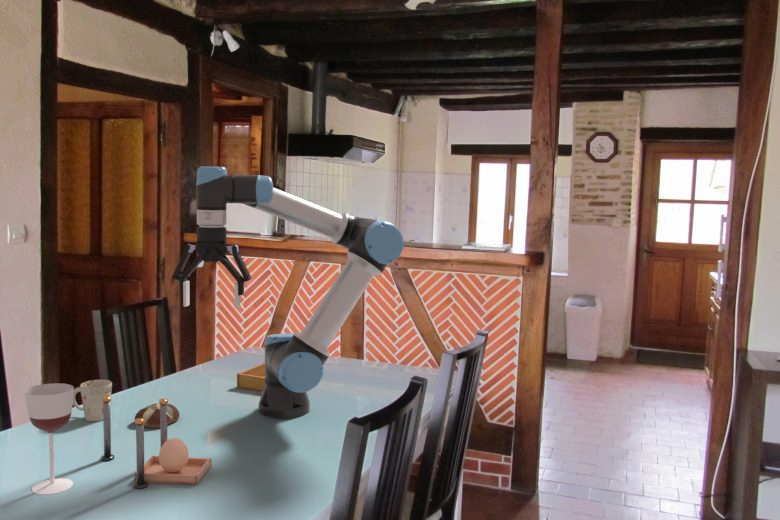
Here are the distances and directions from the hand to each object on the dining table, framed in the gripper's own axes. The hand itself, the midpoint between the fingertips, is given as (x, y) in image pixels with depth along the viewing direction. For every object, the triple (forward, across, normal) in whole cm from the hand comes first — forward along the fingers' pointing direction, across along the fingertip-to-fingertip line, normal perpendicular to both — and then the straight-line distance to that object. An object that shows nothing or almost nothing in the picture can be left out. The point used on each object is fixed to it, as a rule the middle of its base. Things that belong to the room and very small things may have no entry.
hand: (212, 306), depth 184 cm
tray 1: (+35, -1, -26) cm, 43 cm away
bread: (+35, -18, +8) cm, 40 cm away
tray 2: (+35, +8, +54) cm, 65 cm away
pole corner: (+35, -6, -19) cm, 40 cm away
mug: (+35, -38, +9) cm, 52 cm away
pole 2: (+35, -6, -33) cm, 48 cm away
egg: (+34, -1, -26) cm, 43 cm away
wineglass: (+35, -25, -35) cm, 55 cm away
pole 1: (+35, -20, -19) cm, 44 cm away
